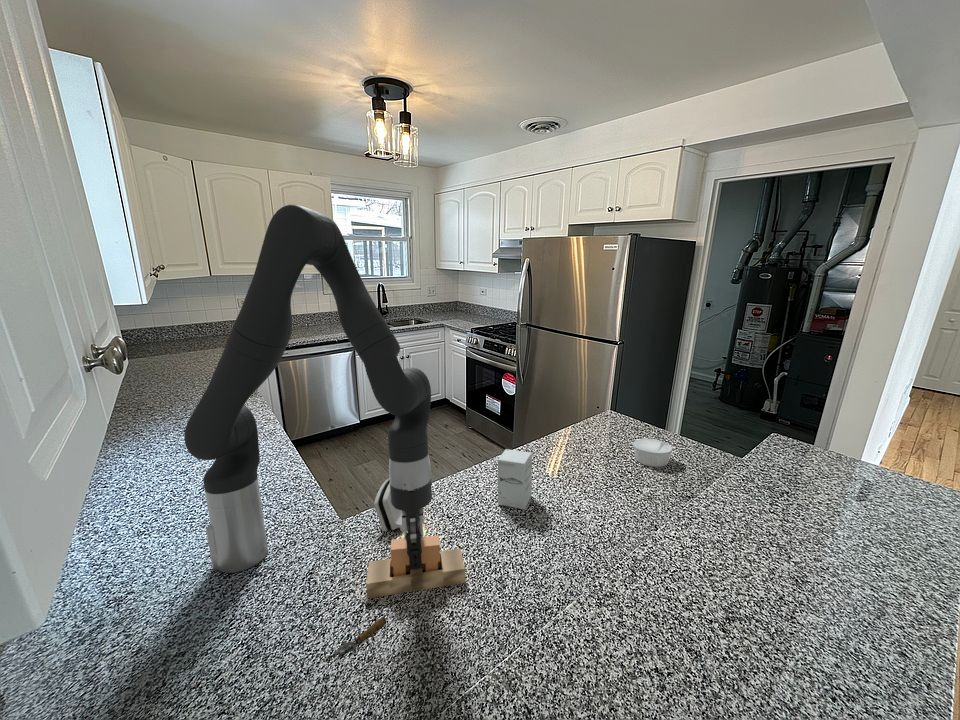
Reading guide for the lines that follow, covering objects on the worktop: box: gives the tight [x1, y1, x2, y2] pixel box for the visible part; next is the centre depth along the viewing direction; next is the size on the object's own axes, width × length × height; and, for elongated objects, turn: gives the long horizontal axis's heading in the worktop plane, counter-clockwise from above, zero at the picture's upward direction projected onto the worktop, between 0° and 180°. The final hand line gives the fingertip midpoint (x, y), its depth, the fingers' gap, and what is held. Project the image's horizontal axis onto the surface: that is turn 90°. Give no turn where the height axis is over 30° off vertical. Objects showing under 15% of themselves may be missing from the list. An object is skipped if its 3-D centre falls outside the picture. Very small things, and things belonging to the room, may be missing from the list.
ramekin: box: [632, 438, 673, 468], centre depth 123 cm, size 11×11×5 cm
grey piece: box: [373, 478, 404, 533], centre depth 98 cm, size 17×5×10 cm, turn 171°
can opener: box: [333, 616, 387, 658], centre depth 63 cm, size 9×2×1 cm, turn 133°
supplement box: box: [497, 448, 533, 510], centre depth 101 cm, size 7×7×13 cm
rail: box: [365, 548, 466, 599], centre depth 75 cm, size 18×6×3 cm, turn 101°
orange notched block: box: [390, 534, 441, 577], centre depth 75 cm, size 9×3×7 cm, turn 100°
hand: (415, 560), depth 75 cm, fingers closed on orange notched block, 3 cm apart
